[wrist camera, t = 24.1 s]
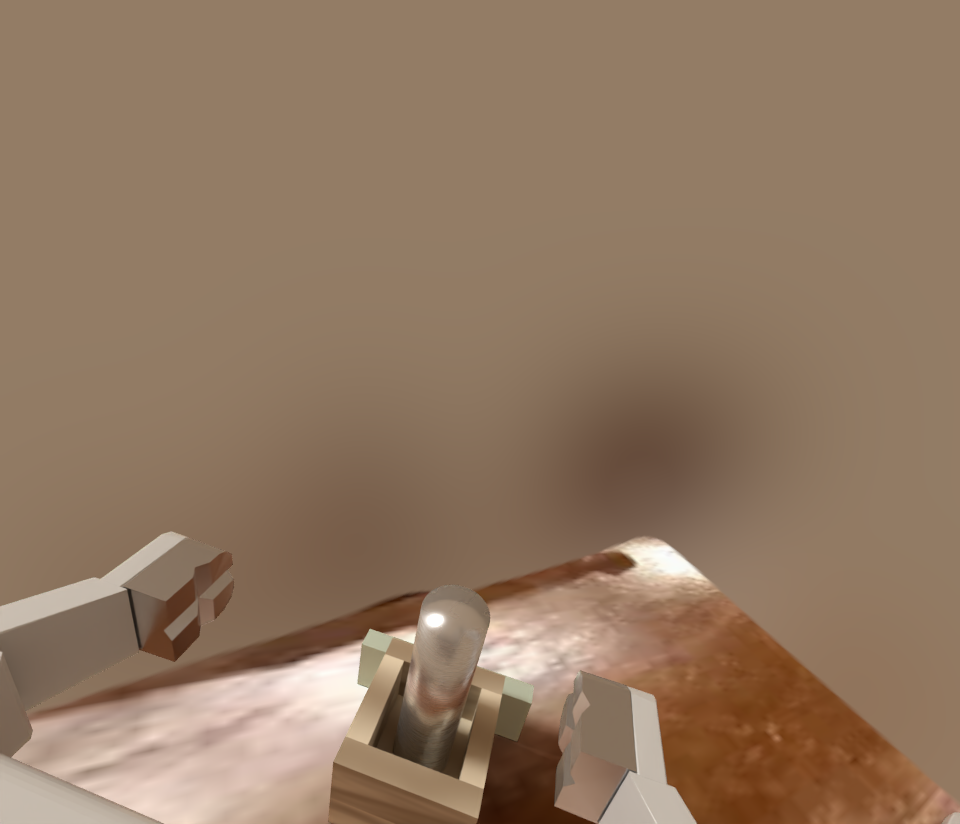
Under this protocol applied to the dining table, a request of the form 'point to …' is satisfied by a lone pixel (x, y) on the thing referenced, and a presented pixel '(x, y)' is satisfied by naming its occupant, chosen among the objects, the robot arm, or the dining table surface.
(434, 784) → the socket block
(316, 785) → the dining table surface
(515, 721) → the wall
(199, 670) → the dining table surface
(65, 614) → the robot arm
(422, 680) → the dowel
